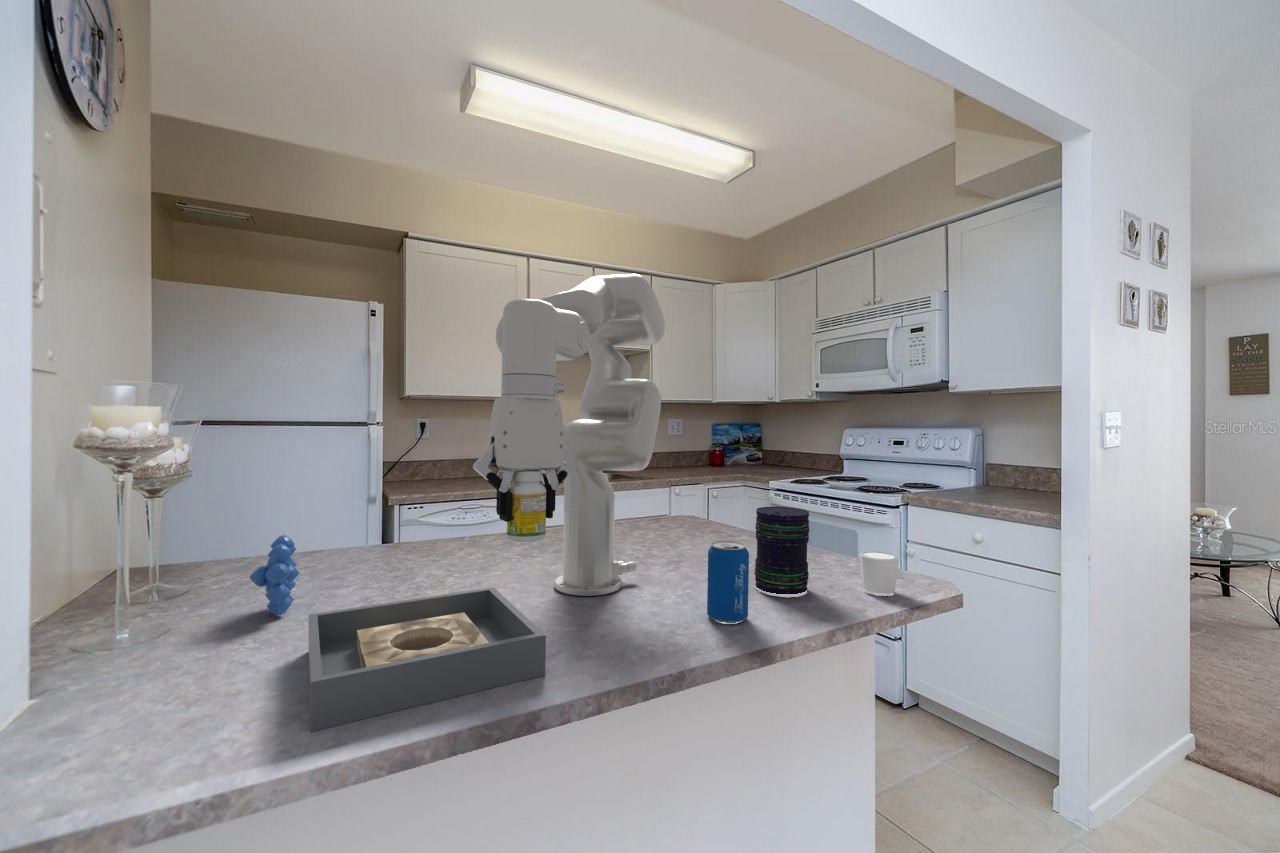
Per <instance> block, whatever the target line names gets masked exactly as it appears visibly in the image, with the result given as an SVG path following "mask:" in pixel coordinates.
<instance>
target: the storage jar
mask: <svg viewBox="0 0 1280 853" xmlns="http://www.w3.org/2000/svg"><path fill="white" fill-rule="evenodd" d="M755 515H756V516H755V518H756V519H755V539H756V558H755V563H754V565H755V566H754V576H755V577H754V580H755V584H754V586H755V585H756V587H757V588H759V589H761V590H763V591H766V592H770V593H776V594H798V593H802V592H805V591H806V590H807V589H808V583H809V582H808V580H809V576H810V575H809V562H808V543H809V540H810V536H809V534H810V520H809V517H810V512H809V510H807V509H802V508H799V507H798V508H796V507H790V506H788V507H787V506H763V507H758V508H756V511H755Z"/></svg>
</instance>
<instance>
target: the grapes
mask: <svg viewBox="0 0 1280 853" xmlns="http://www.w3.org/2000/svg"><path fill="white" fill-rule="evenodd" d="M270 548H271V550H270V551H269V553H268V554H267V557H268V558H269V559H268V560H267V564H266V565H261V566H258V567H257V568H256V569H255V570H254V571H253V572H252V574H250V576H249V579H250V580H251V582H253V584H254V585H256V586H257V587H260V588H262V587H265V591H266V593H265V594H264V596H265V597H266V598H267V599H268V601H269V602H268V604H266V607H267V608H268V611H270V612H271V613H272V614H274V615H275V616H281V615H283V614H285V612H287V610H288V609H289V608H290V607H291V605H292V604H293V602H294V601H295V599H294V597H293V596H292V595H291V591H292V590H293V589H294V587H295V586H296V585H297V584H296V582H295V581H294V580H295V579H296V578H297V576H299V574H300V572H299V571H298V569H297V568H296V567H297V562H296V561H295V560H294V559H293V558H292V557H291V556H292V555H293V554H294V553H295V551H296V550H297V548H296V546H295V543H294V541H293V539H291V538H290V537H289V536H288V535H285V534H283V535H279V536H278V537H277V538H276V539H275V540H274V541H273V542H272V543H271V545H270Z"/></svg>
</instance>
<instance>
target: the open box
mask: <svg viewBox="0 0 1280 853" xmlns="http://www.w3.org/2000/svg"><path fill="white" fill-rule="evenodd" d="M463 612H464V613H465V614H466V615H467V617H468V618H469V619H470V620H471V621H472V623H473V624H474V625H475V626H476V627H477V628H478V630H479V631H480V632H481V634H482V635H483V636H484V638H485V639H486V640H487V641H488V642H489V643H486V644H481V645H476V646H471V647H466V648H461V649H456V650H451V651H446V652H441V653H436V654H431V655H426V656H421V657H416V658H411V659H406V660H401V661H396V662H390V663H385V664H380V665H375V666H370V667H365V668H361V666H360V659H359V655H358V651H357V630H361V629H367V628H373V627H379V626H385V625H391V624H397V623H402V622H408V621H414V620H420V619H426V618H433V617H439V616H445V615H451V614H457V613H463ZM546 637H547V635H546V634H545V632H543V631H542V630H541V629H540V628H539V627H537V625H535V624H534V623H533V622H532V621H531V620H530V619H529V618H528V617H527V616H525V614H524V613H523V612H521V611H520V609H518V608H516V606H514V604H512V602H511V601H510V600H508V599H507V598H506V597H505V596H504V595H503V594H502V593H501V592H500V591H498V590H497V589H496V588H495V587H486V588H479V589H474V590H467V591H460V592H453V593H446V594H445V593H444V594H440V595H438V594H437V595H431V596H425V597H424V596H423V597H419V598H412V599H405V600H399V601H397V600H396V601H391V602H385V603H376V604H369V605H365V606H357V607H350V608H344V609H337V610H336V609H335V610H329V611H323V612H315V613H310V614H309V613H308V652H307V653H308V681H309V683H308V684H309V686H308V687H309V719H310V720H309V721H310V724H309V725H310V732H315V731H320V730H323V729H327V728H332V727H337V726H339V725H340V726H341V725H344V724H349V723H353V722H358V721H361V720H365V719H368V718H373V717H378V716H382V715H385V714H389V713H394V712H398V711H403V710H407V709H410V708H411V709H412V708H414V707H419V706H424V705H427V704H432V703H435V702H439V701H444V700H448V699H451V698H457V697H461V696H464V695H469V694H472V693H477V692H481V691H485V690H489V689H493V688H497V687H502V686H506V685H509V684H514V683H519V682H523V681H526V680H527V681H528V680H530V679H536V678H539V677H544V676H546V652H547V651H546V649H547V646H546V644H547V641H546V640H547V638H546ZM438 646H440V645H421V646H416V647H410V648H407V649H405V650H424V649H429V648H434V647H438ZM543 675H544V676H543Z"/></svg>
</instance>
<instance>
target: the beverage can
mask: <svg viewBox="0 0 1280 853" xmlns="http://www.w3.org/2000/svg"><path fill="white" fill-rule="evenodd" d="M707 551H708V552H707V591H706V592H707V593H706V594H707V595H706V597H707V601H706V602H707V603H706V614H707V616H708V617H709V618H711V620H712V619H714V620H716V621H719V622H726V623H736V622H740V621H745V620H746V619H748V617H749V616H748V615H749V583H750V581H749V578H750V577H749V574H750V573H749V572H750V565H749V564H750V553H749V551H748V549H747V544H746V543H743V542H740V541H735V540H717V541H712V542H711V543H710V547H709V549H708V550H707Z"/></svg>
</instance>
